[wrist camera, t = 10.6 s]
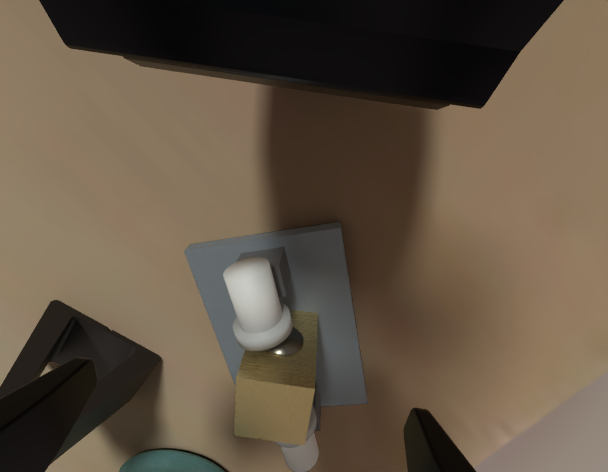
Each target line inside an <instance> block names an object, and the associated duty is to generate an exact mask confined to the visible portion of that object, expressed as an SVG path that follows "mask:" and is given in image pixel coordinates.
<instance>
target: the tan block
mask: <svg viewBox="0 0 608 472" xmlns="http://www.w3.org/2000/svg"><path fill="white" fill-rule="evenodd" d="M289 310H290V314H291V318H292V322H293V328H292V331H291V333H290V334H289V336H288V337H287V338H286V339H285V340H284V341H283V342H282V343H280V344H279V345H277V346H275V347H273V348H270V349H267V350H263V351H248V350H245V352H244V355H243V358H242V361H241V364H240V367H239V370H238V373H237V376H236V392H235V420H234V436H240V437H247V438H254V439H261V440H269V441H276V442H283V443H290V444H297V445H304V446H305V441H306V436H307V430H308V425H309V420H310V414H311V409H312V403H313V398H314V392H315V379H316V351H317V323H318V313H313V312H306V311H298V310H291V309H289Z"/></svg>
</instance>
